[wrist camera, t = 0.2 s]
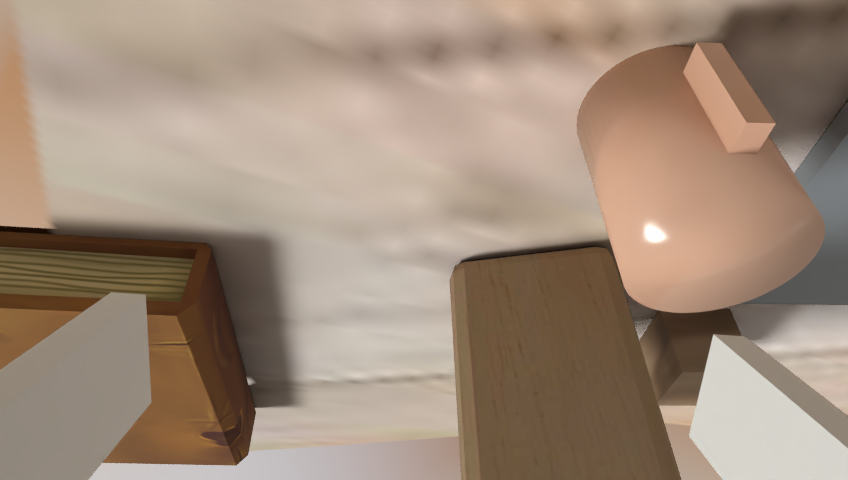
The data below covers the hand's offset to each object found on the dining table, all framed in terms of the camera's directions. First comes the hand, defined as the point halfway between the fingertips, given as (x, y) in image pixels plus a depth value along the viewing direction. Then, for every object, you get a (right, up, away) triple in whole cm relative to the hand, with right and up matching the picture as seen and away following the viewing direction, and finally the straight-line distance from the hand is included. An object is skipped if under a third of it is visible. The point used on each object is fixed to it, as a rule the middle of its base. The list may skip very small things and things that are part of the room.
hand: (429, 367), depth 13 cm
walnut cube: (+19, -3, +29) cm, 34 cm away
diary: (-23, -4, +29) cm, 37 cm away
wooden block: (+7, -1, +25) cm, 26 cm away
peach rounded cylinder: (+11, +9, +14) cm, 20 cm away
